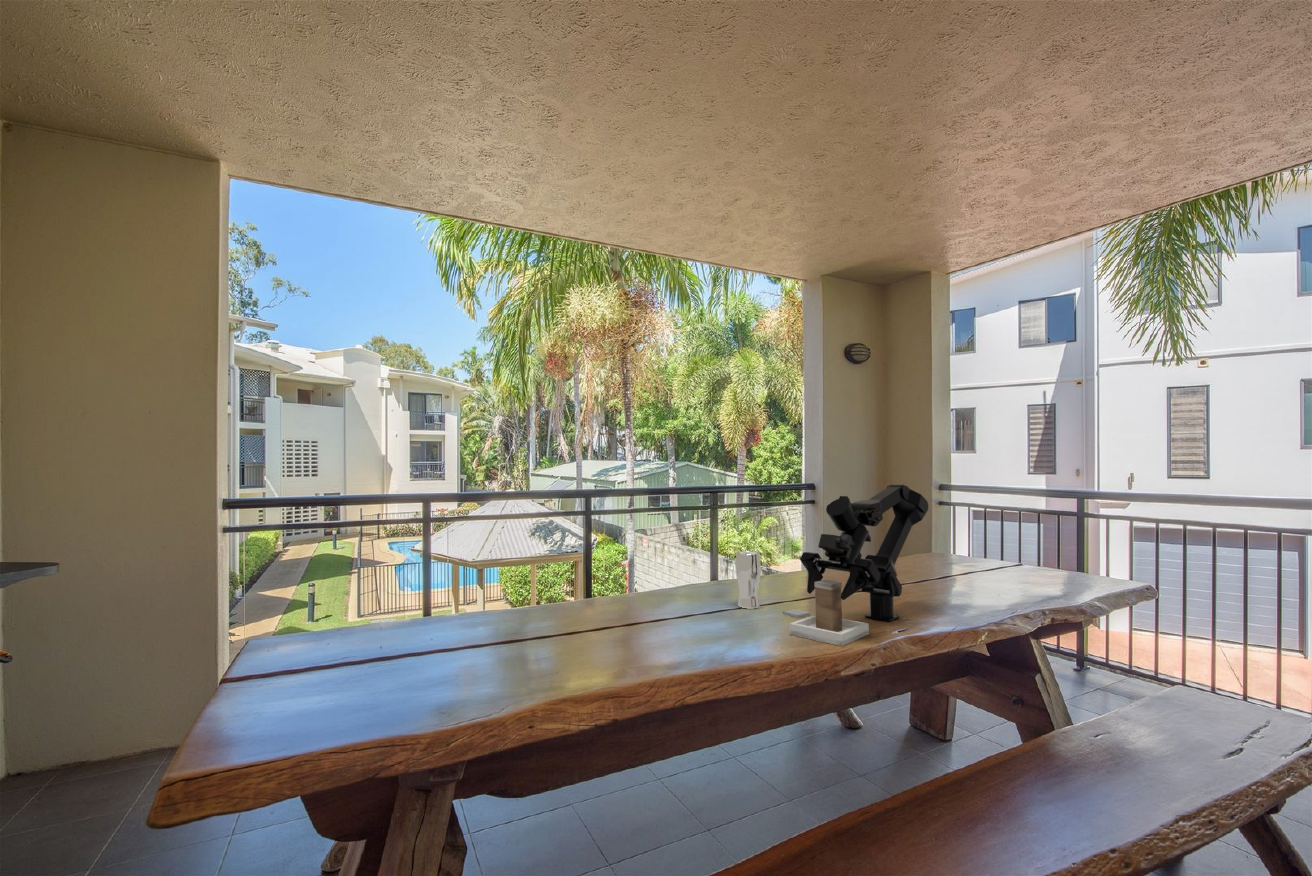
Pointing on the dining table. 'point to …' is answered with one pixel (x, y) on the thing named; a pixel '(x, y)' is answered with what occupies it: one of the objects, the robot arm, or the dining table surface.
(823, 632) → the tray
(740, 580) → the beer glass
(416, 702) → the dining table surface
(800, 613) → the slate tile
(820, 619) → the brown rectangular block
